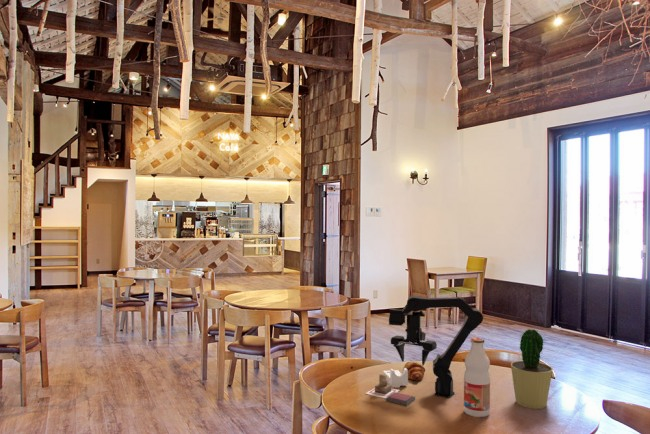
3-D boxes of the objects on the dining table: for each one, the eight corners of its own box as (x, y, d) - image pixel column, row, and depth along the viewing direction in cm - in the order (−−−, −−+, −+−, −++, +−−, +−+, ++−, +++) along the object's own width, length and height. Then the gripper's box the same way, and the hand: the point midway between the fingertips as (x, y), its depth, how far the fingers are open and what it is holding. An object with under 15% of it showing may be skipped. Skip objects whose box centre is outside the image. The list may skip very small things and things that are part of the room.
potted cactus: (527, 412, 190) (528, 333, 190) (502, 398, 205) (503, 324, 204) (561, 408, 194) (562, 331, 194) (534, 395, 209) (535, 323, 209)
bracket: (407, 387, 217) (407, 369, 217) (392, 388, 216) (392, 370, 216) (397, 377, 230) (397, 361, 230) (382, 378, 229) (383, 362, 229)
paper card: (399, 390, 212) (399, 389, 212) (387, 399, 202) (387, 398, 202) (378, 386, 218) (378, 385, 218) (365, 394, 208) (365, 393, 208)
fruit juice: (494, 417, 185) (494, 341, 185) (469, 418, 184) (470, 342, 184) (483, 407, 194) (484, 335, 194) (460, 408, 193) (460, 335, 193)
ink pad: (415, 399, 202) (415, 395, 202) (406, 405, 195) (406, 402, 195) (394, 395, 207) (394, 391, 207) (386, 400, 200) (386, 397, 200)
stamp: (391, 391, 211) (391, 374, 211) (385, 394, 206) (385, 377, 206) (380, 388, 213) (380, 372, 213) (374, 392, 209) (375, 375, 209)
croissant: (403, 375, 243) (396, 361, 243) (422, 366, 243) (414, 351, 243) (412, 390, 222) (403, 374, 222) (432, 379, 222) (423, 363, 222)
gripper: (441, 325, 212) (441, 362, 213) (401, 320, 223) (400, 355, 223) (431, 330, 203) (431, 369, 203) (390, 324, 214) (389, 361, 214)
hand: (413, 363), depth 211 cm, fingers open, 9 cm apart
